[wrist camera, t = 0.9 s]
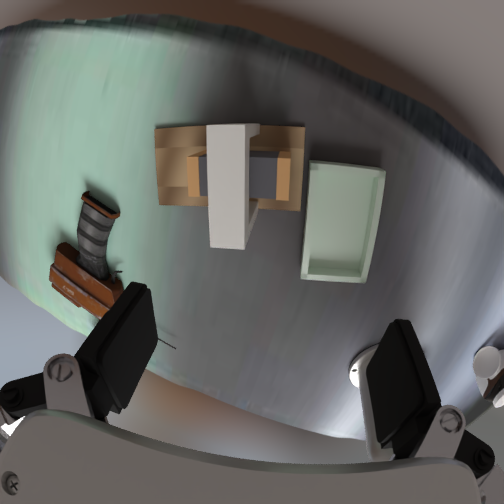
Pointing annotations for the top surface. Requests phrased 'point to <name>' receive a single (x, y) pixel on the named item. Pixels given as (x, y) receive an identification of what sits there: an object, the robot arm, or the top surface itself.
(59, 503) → the robot arm
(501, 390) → the spread jar
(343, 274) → the tray
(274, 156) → the block
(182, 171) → the holder
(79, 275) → the tool
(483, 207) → the top surface
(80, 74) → the top surface
